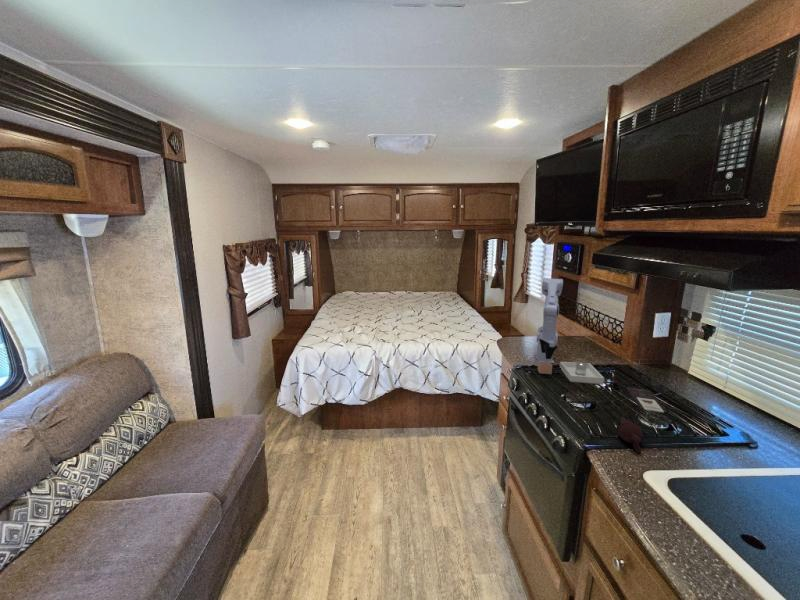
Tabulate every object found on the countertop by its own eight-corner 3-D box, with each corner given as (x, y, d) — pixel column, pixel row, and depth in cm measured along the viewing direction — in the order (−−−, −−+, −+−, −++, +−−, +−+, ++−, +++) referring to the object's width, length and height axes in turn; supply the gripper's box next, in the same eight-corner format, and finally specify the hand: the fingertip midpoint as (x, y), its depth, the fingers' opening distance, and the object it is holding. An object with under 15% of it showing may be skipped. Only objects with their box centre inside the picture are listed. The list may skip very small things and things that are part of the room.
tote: (559, 367, 164) (560, 361, 163) (589, 368, 162) (589, 363, 161) (570, 381, 149) (571, 375, 148) (603, 384, 146) (604, 378, 146)
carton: (537, 370, 161) (538, 361, 160) (549, 370, 160) (550, 362, 159) (539, 373, 157) (540, 365, 156) (551, 374, 156) (552, 365, 155)
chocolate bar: (649, 390, 140) (668, 412, 124) (649, 392, 140) (667, 414, 124) (625, 386, 143) (640, 408, 126) (625, 388, 143) (640, 410, 127)
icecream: (609, 409, 115) (623, 438, 102) (633, 408, 113) (651, 437, 99) (611, 425, 117) (625, 456, 103) (635, 424, 114) (653, 456, 101)
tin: (573, 371, 157) (574, 361, 156) (582, 371, 157) (584, 361, 156) (577, 375, 153) (579, 365, 152) (587, 376, 153) (588, 365, 152)
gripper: (536, 324, 161) (533, 349, 164) (544, 333, 147) (541, 361, 150) (551, 324, 160) (548, 350, 163) (560, 334, 146) (557, 362, 149)
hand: (546, 355), depth 157 cm, fingers open, 7 cm apart
